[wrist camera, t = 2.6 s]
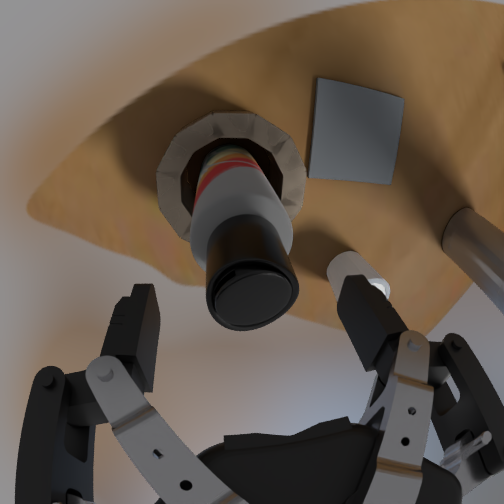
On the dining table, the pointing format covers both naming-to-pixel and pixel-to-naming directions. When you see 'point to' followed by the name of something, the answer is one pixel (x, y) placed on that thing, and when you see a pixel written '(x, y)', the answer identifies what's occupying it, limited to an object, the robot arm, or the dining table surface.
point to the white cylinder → (353, 272)
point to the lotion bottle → (242, 241)
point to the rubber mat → (354, 133)
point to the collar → (227, 126)
